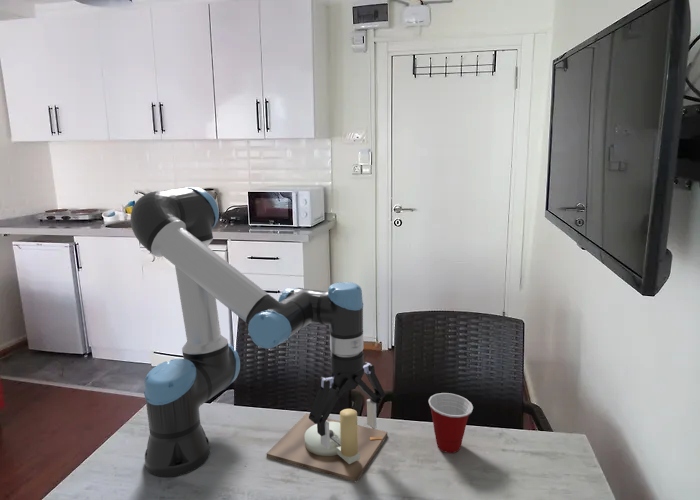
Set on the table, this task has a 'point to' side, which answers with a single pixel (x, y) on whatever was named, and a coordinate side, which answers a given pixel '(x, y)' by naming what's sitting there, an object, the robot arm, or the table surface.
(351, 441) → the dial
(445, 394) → the plastic cup
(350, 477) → the base plate
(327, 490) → the table surface
